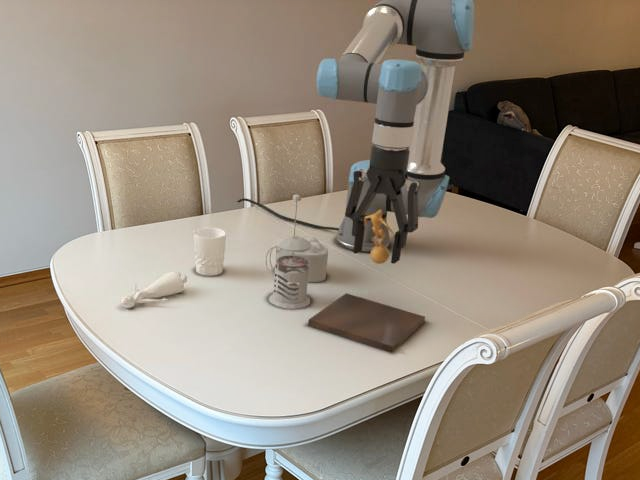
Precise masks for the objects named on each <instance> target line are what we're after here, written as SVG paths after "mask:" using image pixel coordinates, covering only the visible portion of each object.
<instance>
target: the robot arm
mask: <svg viewBox="0 0 640 480" xmlns="http://www.w3.org/2000/svg"><path fill="white" fill-rule="evenodd" d="M474 34H475V4H474V0H380V1H379V2H377V3H376V4H374V5H373V6H372V7H371V8H370V10H369V11H368V12H367V13H366V15H365V16H364V19H363V23H362V28H360V30H359V32H358V33H357V34H356V36H355V37H354V38H353V39H352V41H351V42H350V44H349V45H348V46H347V48H346V49H345V50H344V52H343V53H342V55H341V56H340V57H339V59H337V58H335V57H333V58H323V59H322V60H321V61H320V63H319V66H318V68H317V72H316V73H317V74H316V91H317V93H318V95H319V96H320V97H322V98H327V99H333V100H336V101H337V100H339V101H348V102H358V103H366V104H374V105H376V106H375V117H374V124H373V130H372V138H371V143H372V145H371V148H370V156H369V159H364V160H360V161H357V162H355V163H353V164H352V165H351V167H350V171H349V177H348V179H347V181H348V184H347V194H346V196H347V197H346V202H345V203H346V205H345V212H344V217H343V219H342V221H341V224H340V226H339V227H334V226H325V225H324V226H323V225H318V224H313V223H310V222H307V221H303V220H299V219H296V224H297V223H298V224H301V225H304V226H308V227H311V228H315V229H321V230H329V231H337V232H336V237H335V238H336V239H335V242H336V243H337V244H338V245H339V246H341V247H342V248H345V249H347V250H349V251H353V254H356V255H357V254H359V253H360V252H361V253H363V252H364V253H371V250H372V249H373V247H375V246H376V244H375V242H374V237H375V236H376V234H375V233H374V232H373V230H372V227H373V226H374V225H373V224H372V221H371V218H369V219H367V220H366V225H365V226H364V217H365V216H369V215H372V214H374V213H376V212H378V211H379V210H382V211H383V212H382V213H383V214H382V218H383V220H384V221H385V222H386V223H387V224H388V221H387V217H388V212H390V213H394V215H395V219H396V224H397V227H398V230H397V231H396V232H395V233H394V236H395V238H394V237H393V245H392V252H391V259H390V264H393V265H395V264H396V263H398V262H399V261H400V259H401V252H402V249H404V248H405V247H406V245H407V242H408V236H409V234H408V233H414V232H415V231H416V230H418V229H419V218H428V219H433V218H435V217H437V216H438V215H439V212H440V210H441V207H442V204H443V202H444V198H445V195H446V192H447V189H448V186H449V182H450V176H449V175H447V174H445V171H446V167H445V166H444V164H443V162H442V161H441V160H442V155H443V148H444V142H445V137H446V136H445V135H446V129H447V125H448V124H447V123H448V116H449V110H450V105H451V97H452V92H453V86H454V80H455V75H456V74H455V73H456V67H457V65H458V64H459V63H461V62H462V61H463V60H464V57H465V53H468V52H470V51H471V50H472V47H473V41H474V36H475V35H474ZM395 45H404V46H411V47H415V57H416V58H417V59H418V61H419V62H417V61H414V60H409V59H408V60H407V59H397V58H396V59H395V58H393V59H386V60H384V61H383V62H382V63H380V62H381V61H382V60H383V58H384V56H385V55H386V53H387V52H388V50H389V49H390V48H393V47H394V46H395ZM236 202H237V203H242V202H248V203H251V204H253V205H256V206H258V207H261V208H263V209H264V210H266V211H268V212H269V213H271V214H273V215H274V216H277V217H279V218H281V219H283V220H285V221H289V222H293V223H295V218H292V217H287V216H285V215H283V214H280V213H278V212H276V211H275V210H273V209H271V208H269V207H267V206H266V205H264V204H262V203H259V202H257V201H255V200H252V199H249V198H247V197H246V198H245V197H244V198H243V197H242V198H240V199H238V200H237V201H236ZM381 228H383V231H384V233H385V234H386V237H385V239H384V240H383V242H382V245H383V246H385V247H387V249H389V247H390V243H391V238H390V231H389V230H388V228H387V226H385V225H384V224H383V223H382V224H381ZM381 228H380V229H381ZM381 238H383V237H382V236H381V235H380V234H379V236H378V238H377V240H376V241H377V243H378V244H379V242H380V239H381Z"/></svg>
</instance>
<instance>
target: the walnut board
mask: <svg viewBox="0 0 640 480" xmlns="http://www.w3.org/2000/svg"><path fill="white" fill-rule="evenodd" d="M425 321H426V316H425V315H421V314H418V313H415V312H411V311H409V310H405V309H402V308H398V307H395V306H391V305H389V304H384V303H380V302H377V301H374V300H371V299H367V298H364V297H360V296H357V295H353V294H351V293H345V294H343V295H342V296H340V297H339V298H337V299H336V300H334V301H333V302H331V303H329V304H328V305H327V306H326V307H325V308H323V309H322V310H320V311H319V312H317V313H316V314H314V315H313V316H311V317H310V318H309V319H308V324H307V326H309V327H311V328H315V329H317V330H320V331H324V332H326V333H330V334H333V335H337V336H339V337H342V338H346V339H349V340H351V341H355V342H358V343H361V344H364V345H367V346H370V347H372V348H376V349H380V350H383V351H385V352H388V353H393V352H394V351H396V349H398V348H399V347H400V346H401V345H402V344H403V343H404V342H405V341H406V340H408V339H409V337H410V336H412V335H413V333H415V332H416V331H417V330H418V329H419V328H420V327H422V325H423V324H424V323H425Z"/></svg>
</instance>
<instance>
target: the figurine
mask: <svg viewBox="0 0 640 480" xmlns="http://www.w3.org/2000/svg"><path fill="white" fill-rule="evenodd" d="M382 212H383V211H382V210H379V211H378V212H376V213H374V214H372V215H369V216H365V217H364V226H365V225H366V220H367V219H369V218H371V221H372V224H373V225H374V226H373V227H372V230H373V232H374V233H375V234H376V236H375V237H374V242H375V244H376V246H375V247H373V249H372V250H371V252H369V255H370V259H371V261H372V263H375V264H376V265H377V264H378V265H382V264H385V263H386V262H387V261H388V260H389V258H390V250H389V248H387V247H385V246H383V245H382V242H383V240H384V239H385V237H386V234H385V233H384V231H383V228H381V224H382V223H383V224H384V225H385V226H387V228H388V231H389V233H391V235H392V237H393V239H394V238H395V233H394V232H393V230H392V228H391V227H390V225H389V224H388V222H387V223H386V222H385V221H384V220H383V218H382V214H383V213H382ZM380 228H381V229H380ZM379 234H380V235H381V236H382V237H383V238H381V239H380V242H379V244H378V243H377V241H376V240H377V238H378V236H379Z"/></svg>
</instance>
